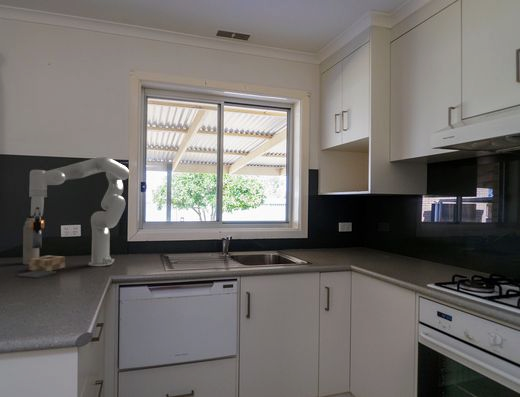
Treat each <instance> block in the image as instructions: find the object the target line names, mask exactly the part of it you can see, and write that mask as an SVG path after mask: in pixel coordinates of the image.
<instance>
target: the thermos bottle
mask: <svg viewBox="0 0 520 397" xmlns="http://www.w3.org/2000/svg"><path fill="white" fill-rule="evenodd" d="M30 220H34V215H33V216H31V215H28V216H26V221H25V222H24V225H23V233H22V234H23V235H22V236H23V237H22V238H23V239H22V241H23V243H22V264H23V265H29V259H32V258H37V257H40V248H32V230H33V229H30Z"/></svg>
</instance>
